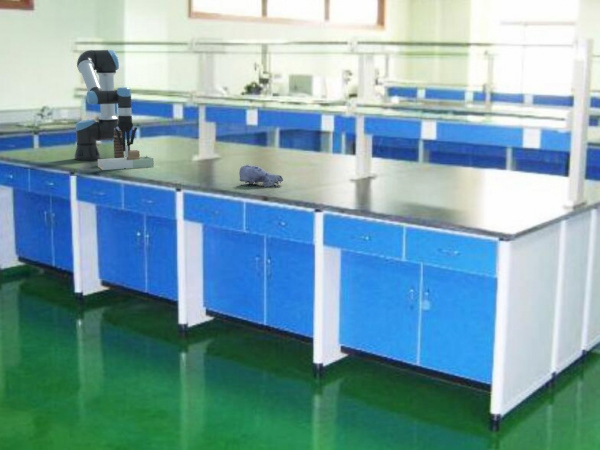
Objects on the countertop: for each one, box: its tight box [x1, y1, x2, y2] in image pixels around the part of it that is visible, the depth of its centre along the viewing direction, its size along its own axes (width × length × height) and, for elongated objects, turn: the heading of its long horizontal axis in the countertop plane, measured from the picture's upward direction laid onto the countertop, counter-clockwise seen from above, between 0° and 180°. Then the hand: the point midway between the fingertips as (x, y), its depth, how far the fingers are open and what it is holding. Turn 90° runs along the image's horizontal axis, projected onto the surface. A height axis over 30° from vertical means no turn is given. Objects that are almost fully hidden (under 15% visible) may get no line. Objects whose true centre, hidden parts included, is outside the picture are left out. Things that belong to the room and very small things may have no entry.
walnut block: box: [126, 149, 141, 160], centre depth 481 cm, size 6×6×6 cm
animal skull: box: [238, 164, 284, 188], centre depth 417 cm, size 14×22×10 cm, turn 69°
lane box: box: [97, 155, 155, 171], centre depth 480 cm, size 12×29×5 cm, turn 115°
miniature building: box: [113, 129, 125, 158], centre depth 495 cm, size 10×10×20 cm
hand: (126, 157), depth 479 cm, fingers closed
